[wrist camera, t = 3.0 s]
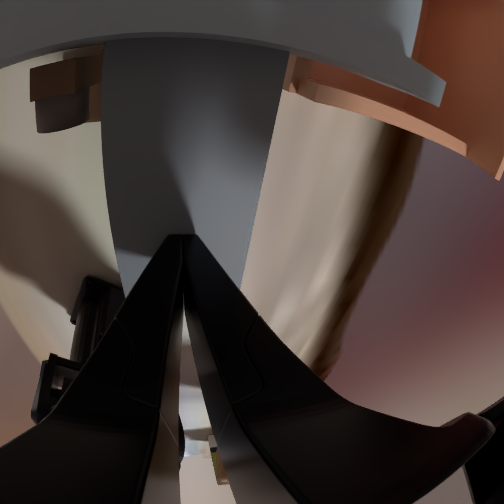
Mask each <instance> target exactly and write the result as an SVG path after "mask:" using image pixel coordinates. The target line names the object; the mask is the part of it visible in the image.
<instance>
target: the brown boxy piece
mask: <svg viewBox="0 0 504 504" xmlns="http://www.w3.org/2000/svg"><path fill="white" fill-rule="evenodd" d="M411 59H413V60H415V61H416V62H418V63H419V64H421V65H422V66H424V67H426V68H427V69H429V70H430V71H432V72H433V73H434V74H436V75H437V76H439V77H440V78H442V79H443V80H444V81H446V86H445V89H444V93H443V96H442V99H441V103H440V106H439V107H437V106H435V105H433V104H431V103H429V102H427V101H424V100H422V99H420V98H417V97H415V96H412V95H410V94H408V93H405V92H402V91H400V90H397V89H394V88H392V87H389V86H386V85H383V84H380V83H378V82H376V81H373V80H371V79H368V78H366V77H363V76H360V75H358V74H355V73H352V72H349V71H346V70H343V69H341V68H337V67H334V66H331V65H328V64H325V63H321V62H318V61H314V60H311V59H307V58H303V57H299V56H295V55H291V54H290V55H289V60H288V64H287V69H286V74H285V78H284V83H283V87H282V89H284V90H286V91H288V92H293V93H297V94H299V95H301V96H303V97H306V98H308V99H310V100H312V101H314V102H318V103H322V104H326V105H330V106H334V107H338V108H342V109H345V110H349V111H352V112H356V113H359V114H362V115H366V116H369V117H372V118H375V119H378V120H381V121H384V122H387V123H390V124H392V125H395V126H398V127H400V128H403V129H406V130H408V131H411V132H413V133H416V134H418V135H421V136H423V137H425V138H428V139H430V140H433V141H435V142H437V143H439V144H441V145H443V146H445V147H448V148H450V149H452V150H454V151H456V152H458V153H460V154H462V155H464V156H466V157H467V158H469V159H470V160H471V161H473V162H474V163H476V164H477V165H478V166H480V167H481V168H482V169H484V170H485V171H486V172H488V173H489V174H490V175H491V176H493V177H494V178H495V179H497V180H500V178H501V175H502V173H503V171H504V0H422V7H421V12H420V18H419V23H418V28H417V33H416V37H415V42H414V46H413V50H412V55H411Z"/></svg>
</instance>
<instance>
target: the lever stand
mask: <svg viewBox="0 0 504 504" xmlns="http://www.w3.org/2000/svg"><path fill="white" fill-rule="evenodd" d="M102 67H103V55H99V56H89V57H81V58H74V59H69V60H64V61H59V62H55V63H50V64H46V65H42V66H39V67H35V68H31V69H30V102H32V101H35V110H36V124H37V132H38V133H51V132H57V131H61V130H65V129H69V128H72V127H75V126H78V125H81V124H83V123H87V122H98V121H101V86H102Z"/></svg>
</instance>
